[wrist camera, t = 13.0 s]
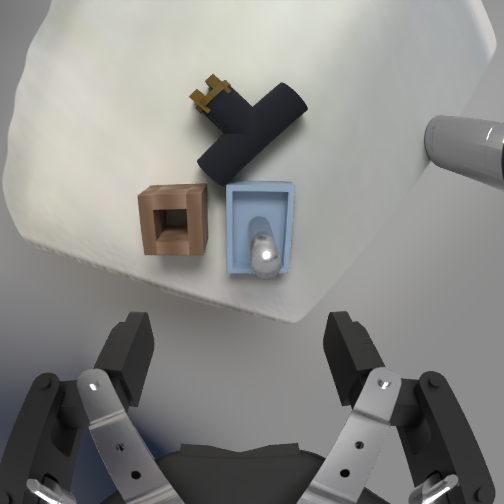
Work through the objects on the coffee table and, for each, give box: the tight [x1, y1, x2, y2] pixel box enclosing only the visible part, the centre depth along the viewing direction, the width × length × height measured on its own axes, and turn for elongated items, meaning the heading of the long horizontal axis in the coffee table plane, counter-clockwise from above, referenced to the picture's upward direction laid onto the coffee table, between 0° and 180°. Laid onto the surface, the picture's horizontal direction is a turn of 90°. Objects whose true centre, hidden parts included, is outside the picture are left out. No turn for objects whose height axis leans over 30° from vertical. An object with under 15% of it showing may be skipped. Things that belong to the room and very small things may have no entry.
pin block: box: [138, 184, 208, 255], centre depth 38 cm, size 8×8×6 cm
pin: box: [248, 216, 282, 279], centre depth 36 cm, size 3×3×12 cm
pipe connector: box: [189, 74, 308, 186], centre depth 33 cm, size 12×5×15 cm
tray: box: [226, 181, 295, 273], centre depth 41 cm, size 9×13×3 cm
